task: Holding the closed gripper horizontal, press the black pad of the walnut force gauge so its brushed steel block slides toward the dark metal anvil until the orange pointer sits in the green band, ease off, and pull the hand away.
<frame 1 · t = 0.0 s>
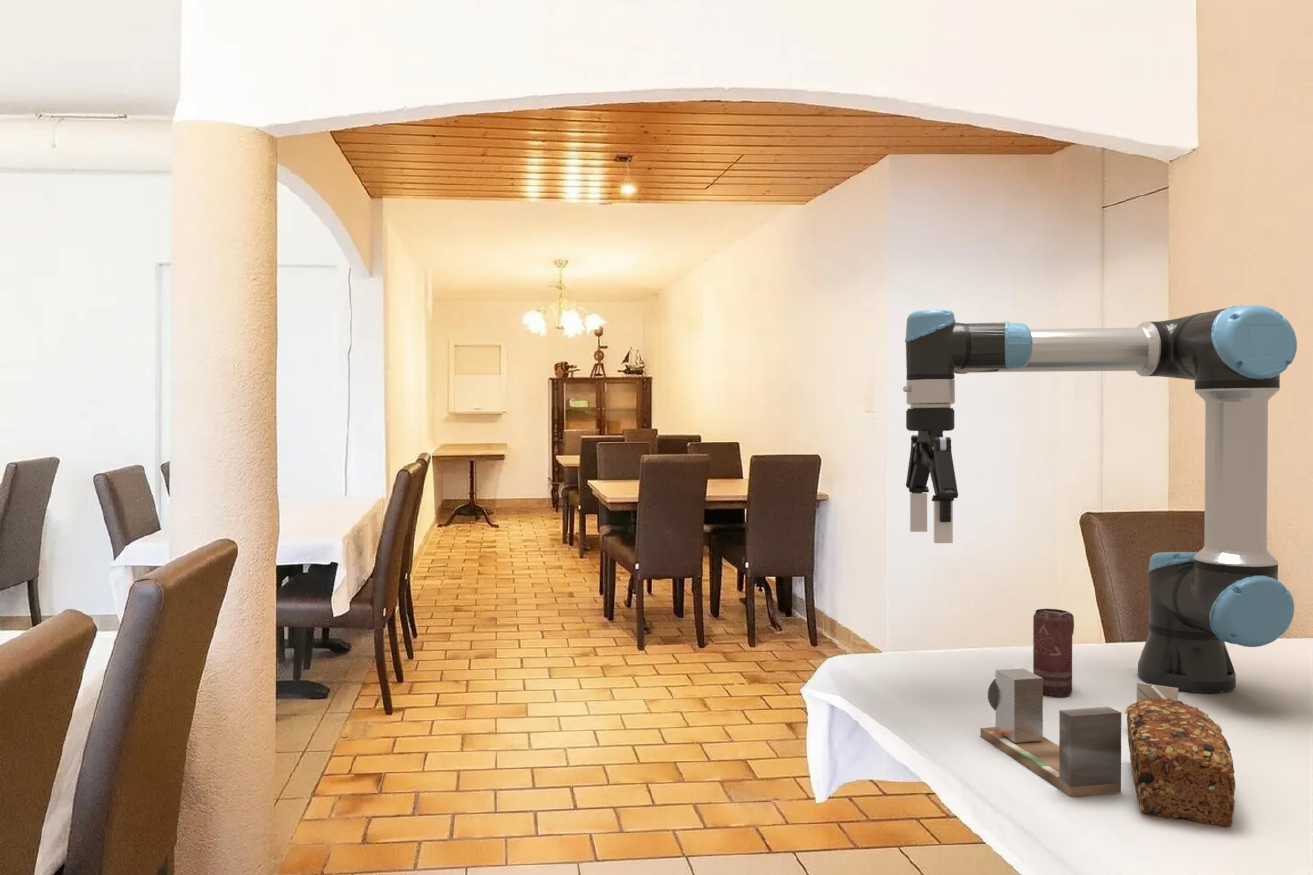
hand: (930, 537, 149), 28 cm above the table, tool pointing down, fingers open, 13 cm apart
architectural model: (1157, 737, 137), on the table
gauge body: (1040, 759, 128), on the table
bread: (1177, 795, 116), on the table
brushed steel block: (1014, 704, 133), point 6 cm above the table, slide at 0.0 cm
can: (1053, 693, 157), on the table
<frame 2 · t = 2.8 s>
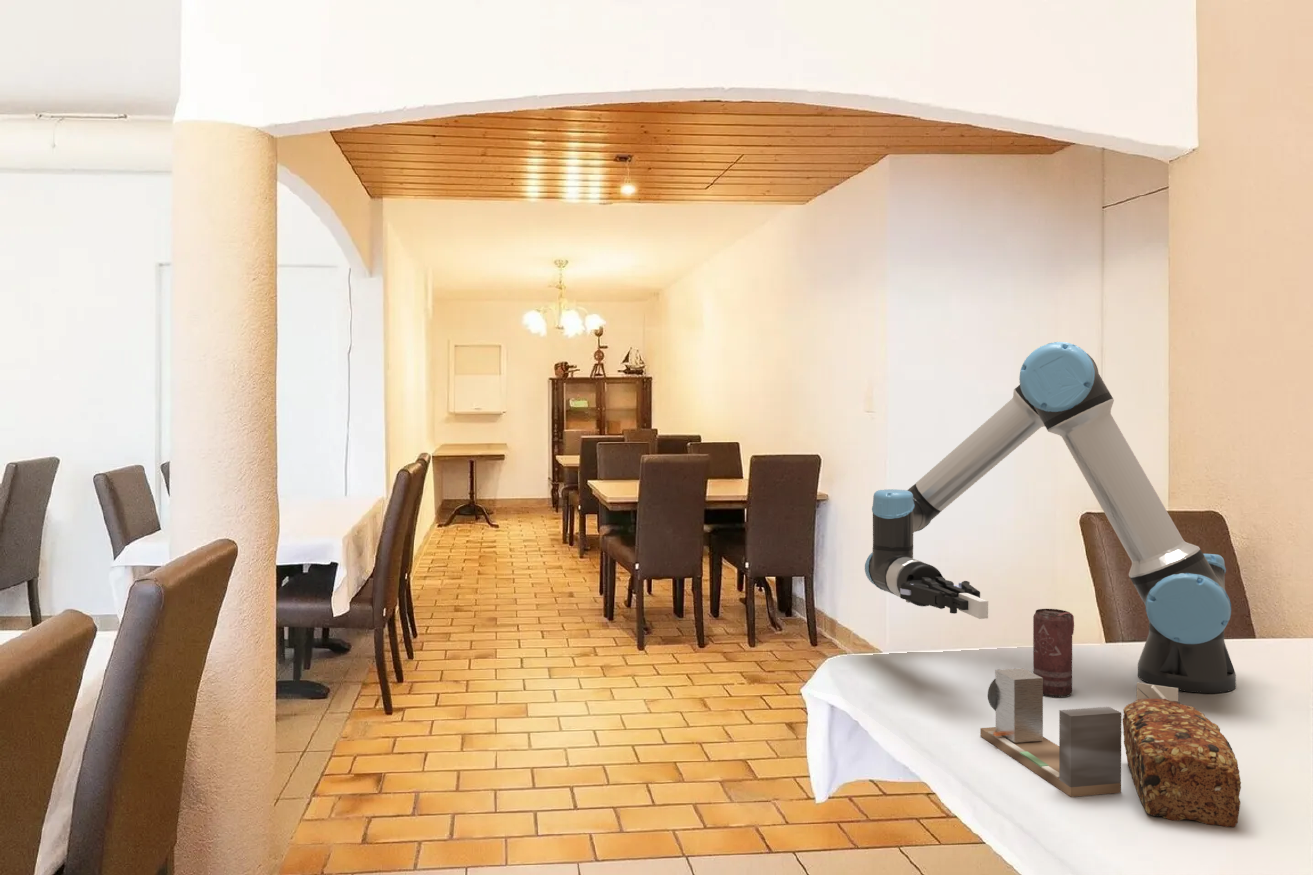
hand: (983, 609, 142), 18 cm above the table, tool horizontal, fingers closed
nothing on the table moved.
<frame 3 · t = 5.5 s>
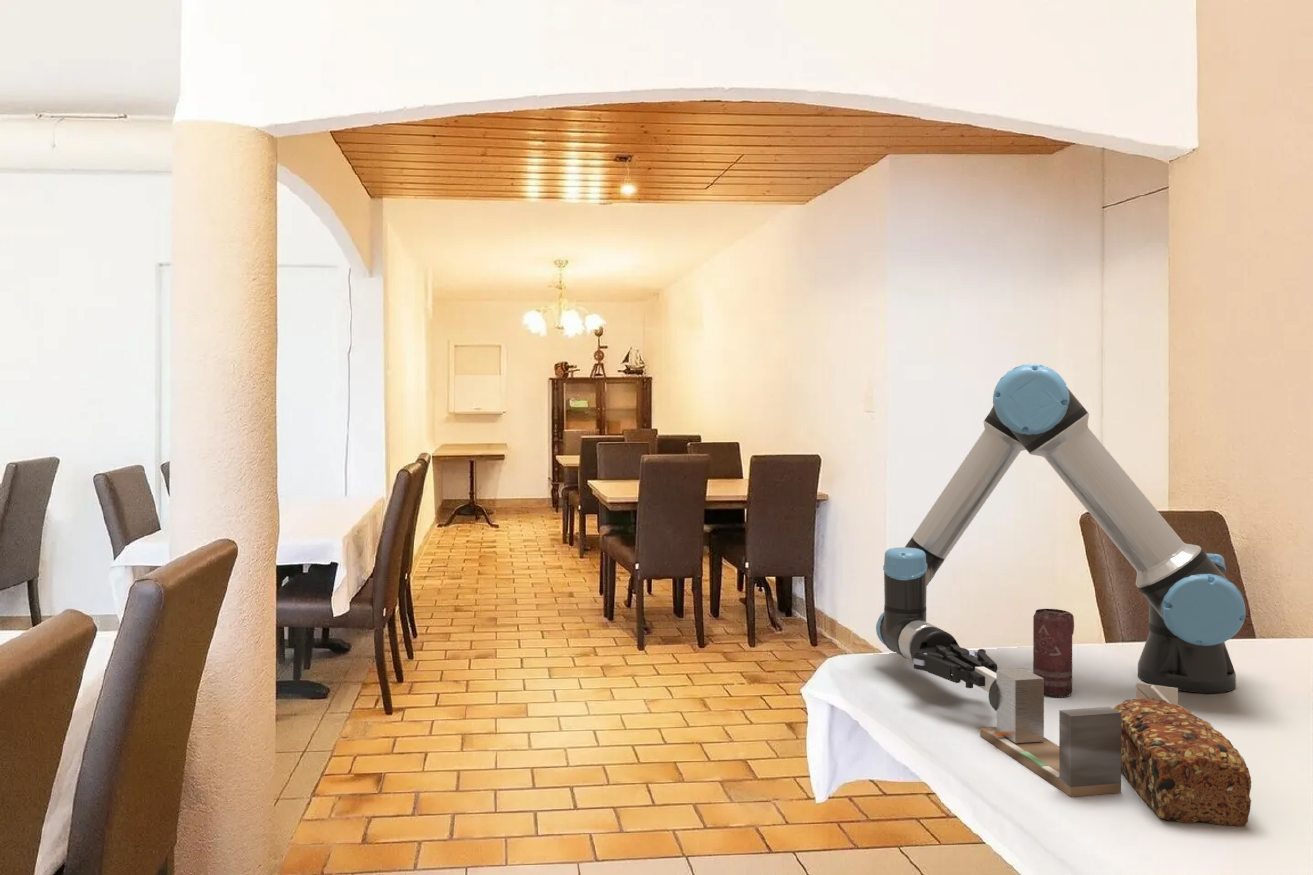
hand: (1001, 687, 136), 7 cm above the table, tool horizontal, fingers closed
brushed steel block: (1015, 704, 133), point 6 cm above the table, slide at 0.3 cm, touching gripper
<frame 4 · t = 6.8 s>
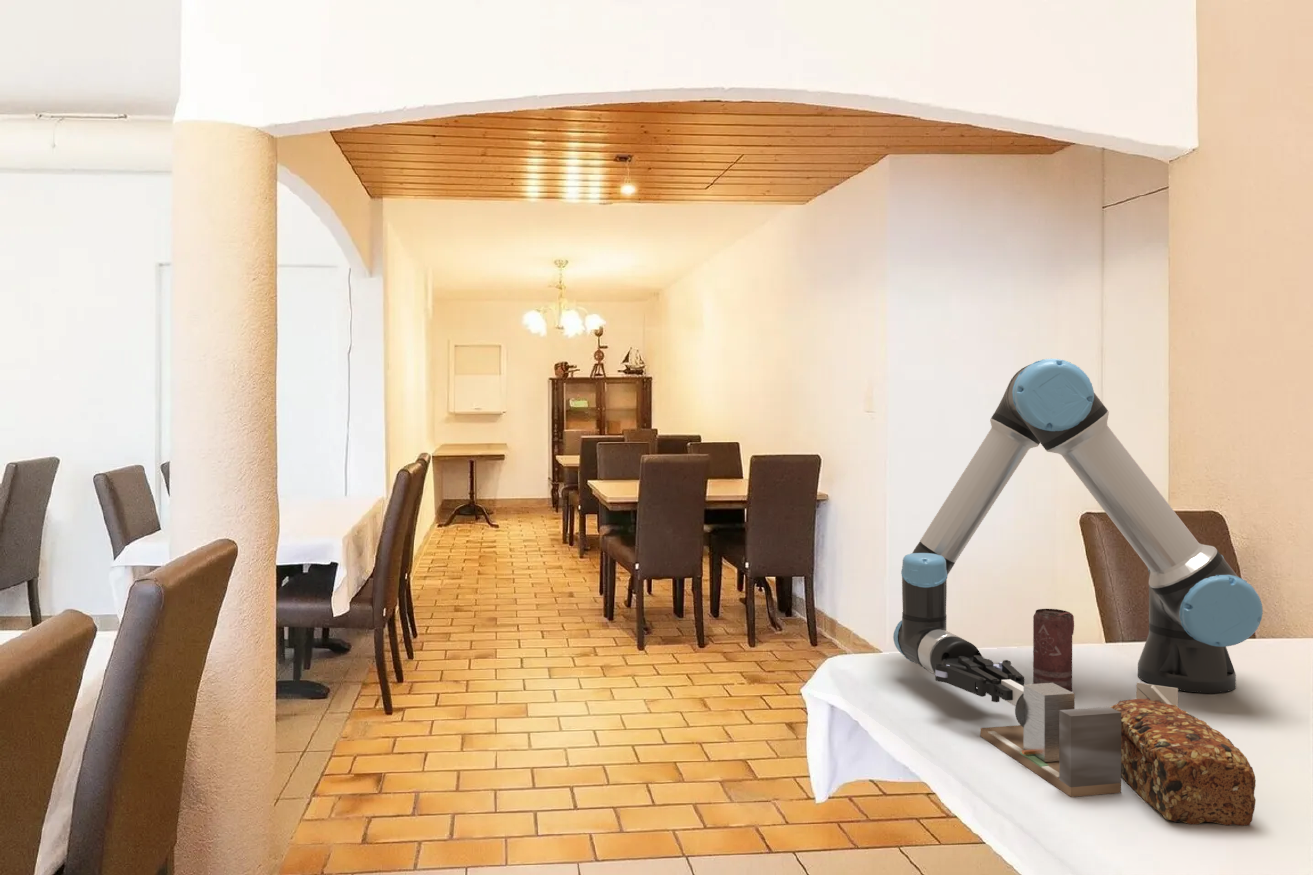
hand: (1030, 702, 129), 7 cm above the table, tool horizontal, fingers closed
brushed steel block: (1044, 720, 126), point 6 cm above the table, slide at 7.3 cm, touching gripper
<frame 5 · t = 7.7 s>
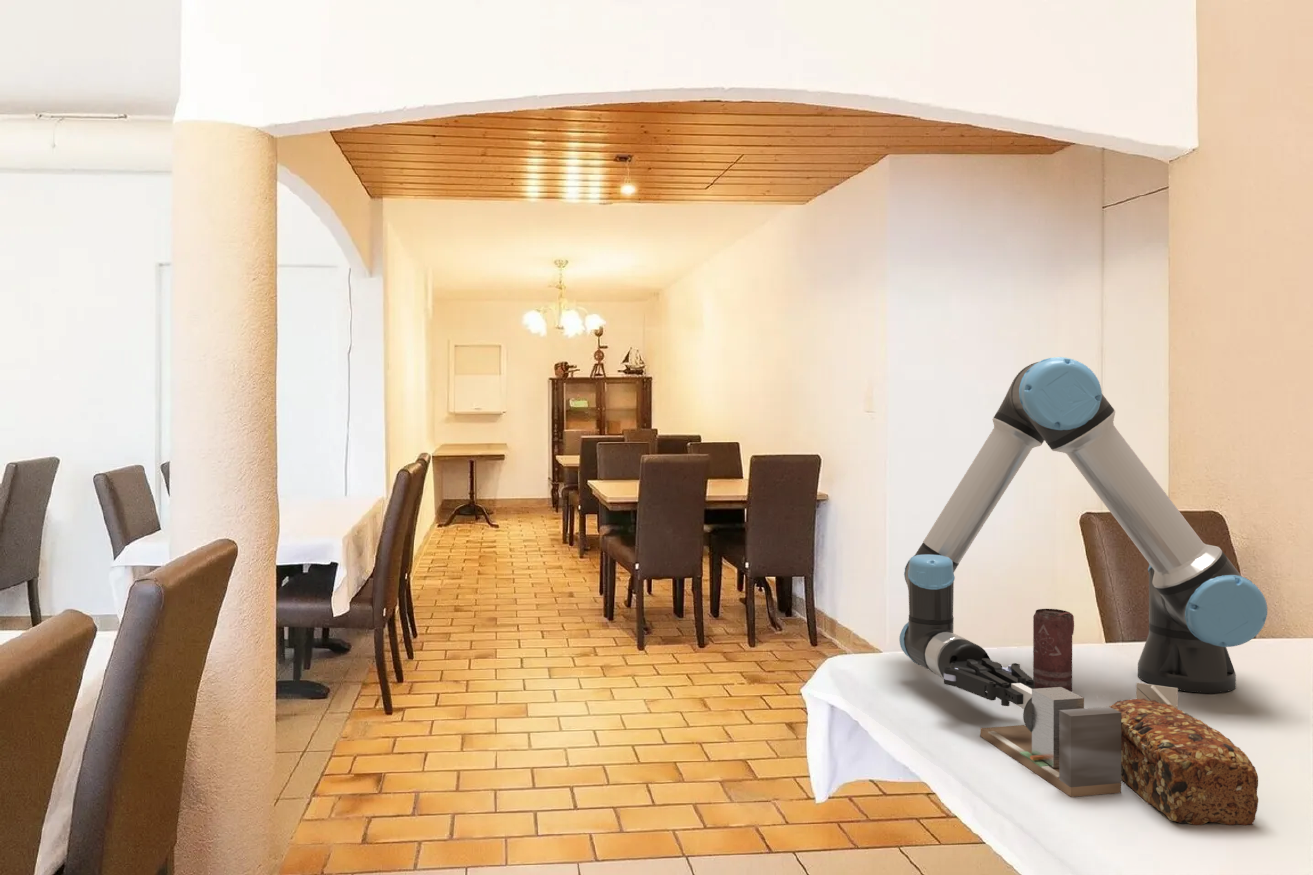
hand: (1041, 706, 127), 7 cm above the table, tool horizontal, fingers closed
brushed steel block: (1052, 725, 124), point 6 cm above the table, slide at 9.3 cm, touching gripper
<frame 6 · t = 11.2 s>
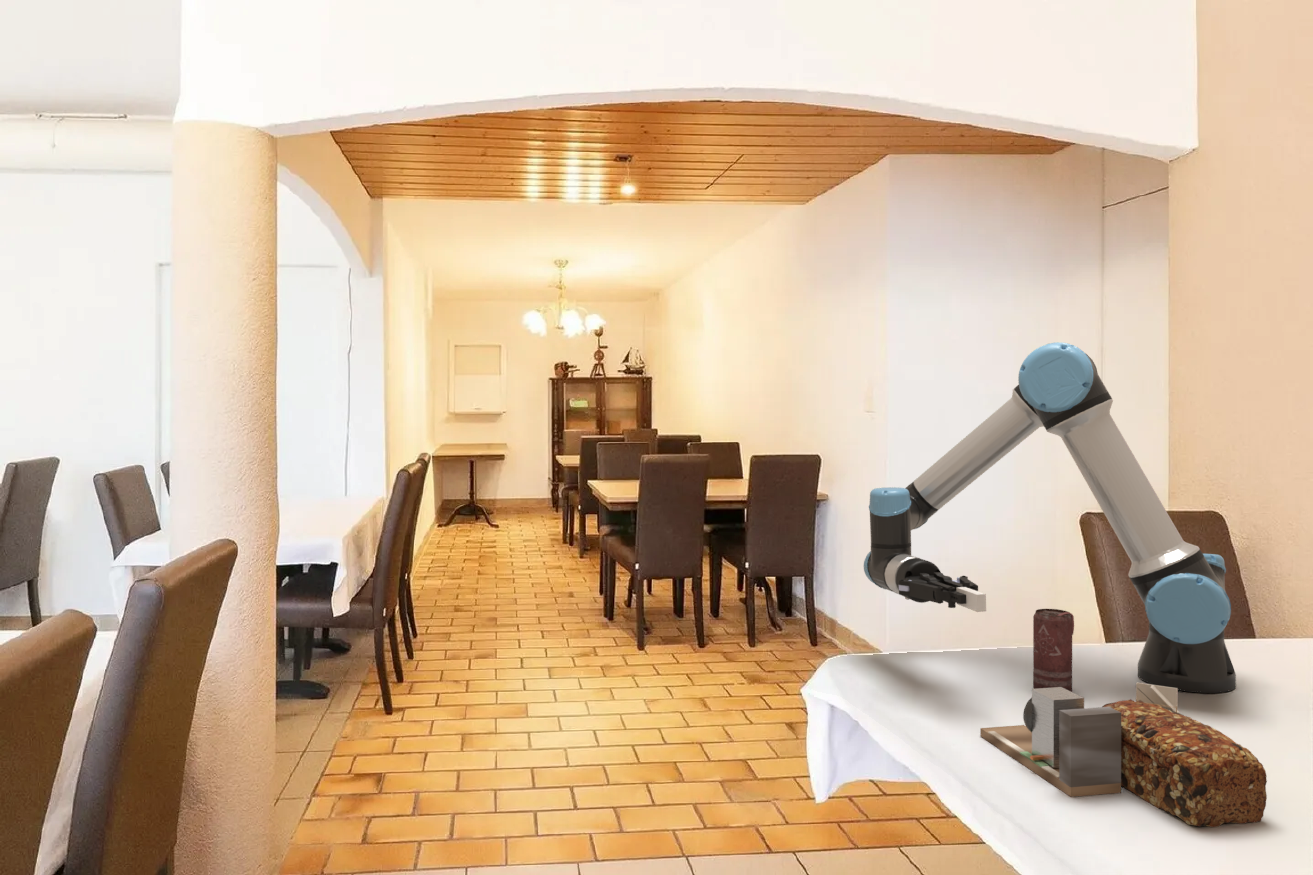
hand: (981, 602, 142), 19 cm above the table, tool horizontal, fingers closed
brushed steel block: (1053, 725, 124), point 6 cm above the table, slide at 9.4 cm
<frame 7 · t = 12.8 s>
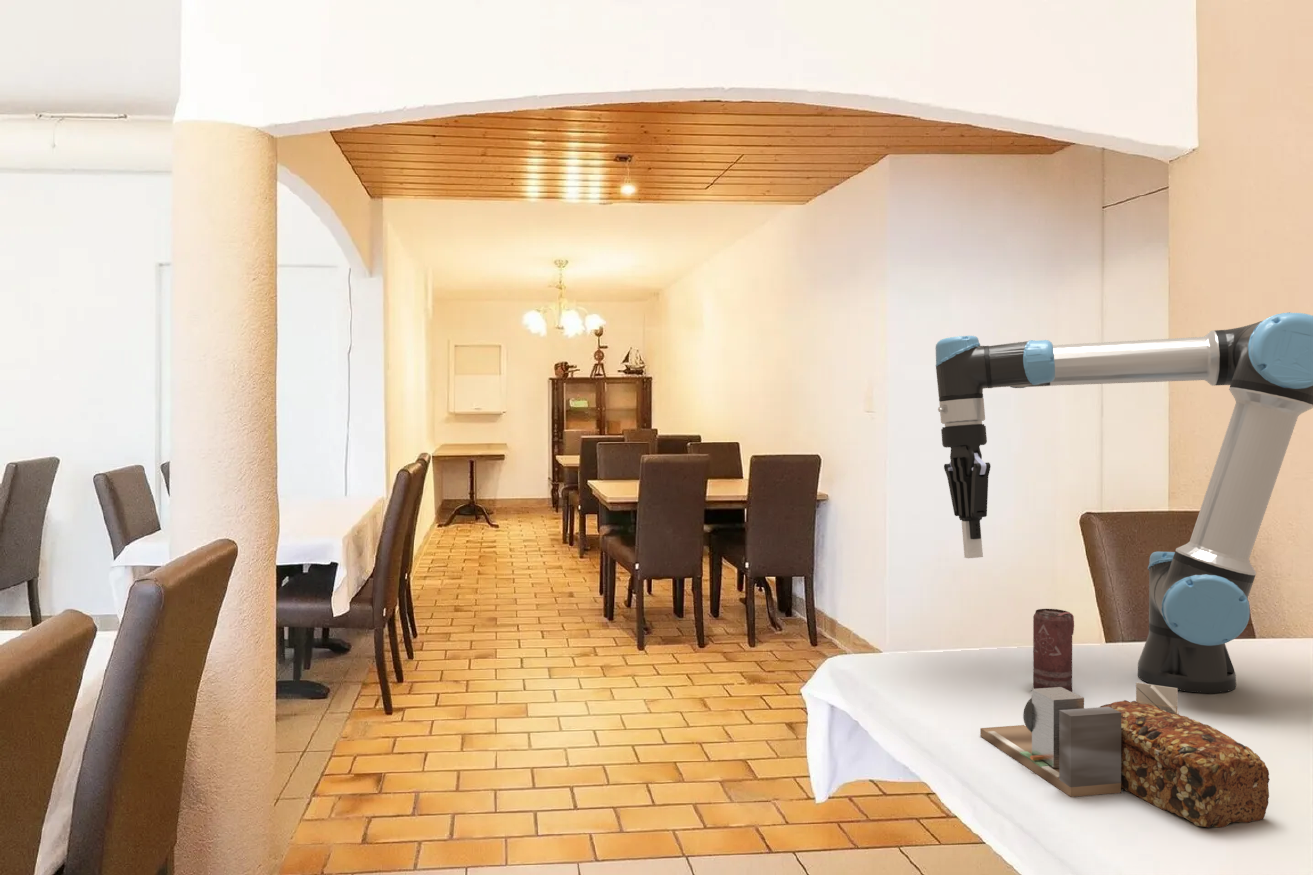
hand: (973, 557, 162), 23 cm above the table, tool pointing down, fingers closed
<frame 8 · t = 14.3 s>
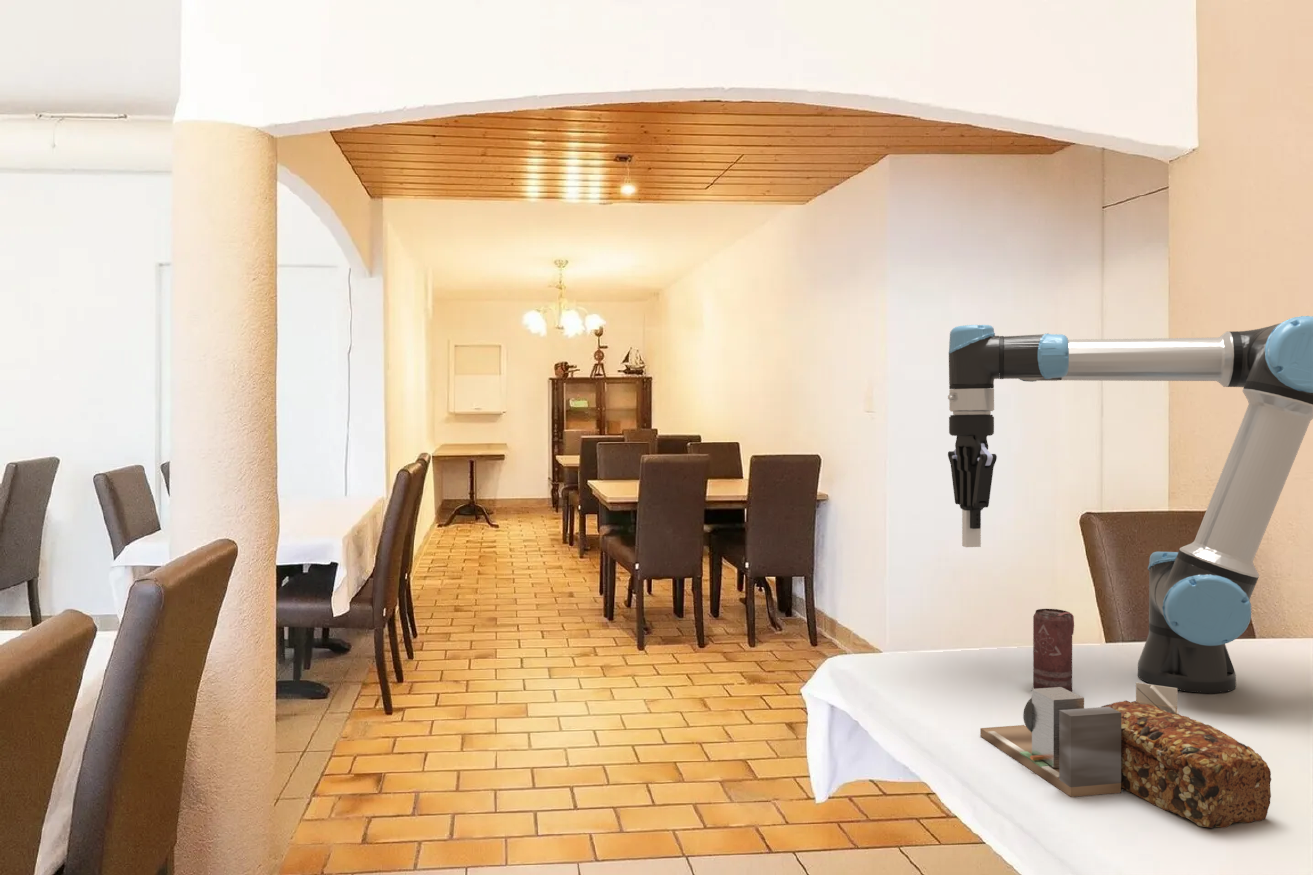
hand: (971, 546, 163), 24 cm above the table, tool pointing down, fingers closed
at the end: brushed steel block slide at 9.4 cm; brushed steel block touching nothing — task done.
